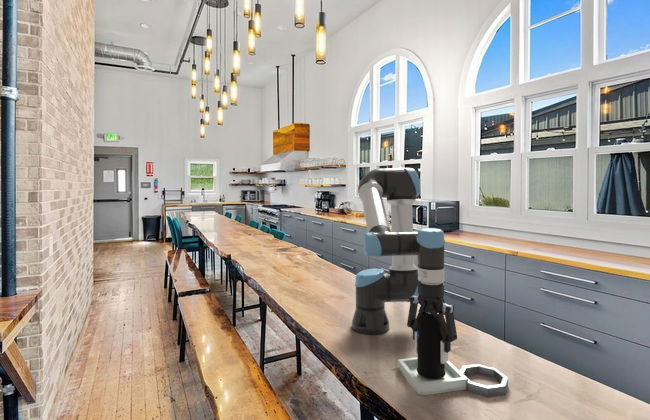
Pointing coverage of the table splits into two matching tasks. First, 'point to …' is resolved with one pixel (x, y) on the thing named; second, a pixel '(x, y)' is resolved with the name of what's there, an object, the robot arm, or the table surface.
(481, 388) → the collar
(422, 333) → the aerosol can
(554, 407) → the table surface
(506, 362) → the table surface
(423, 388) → the tray
